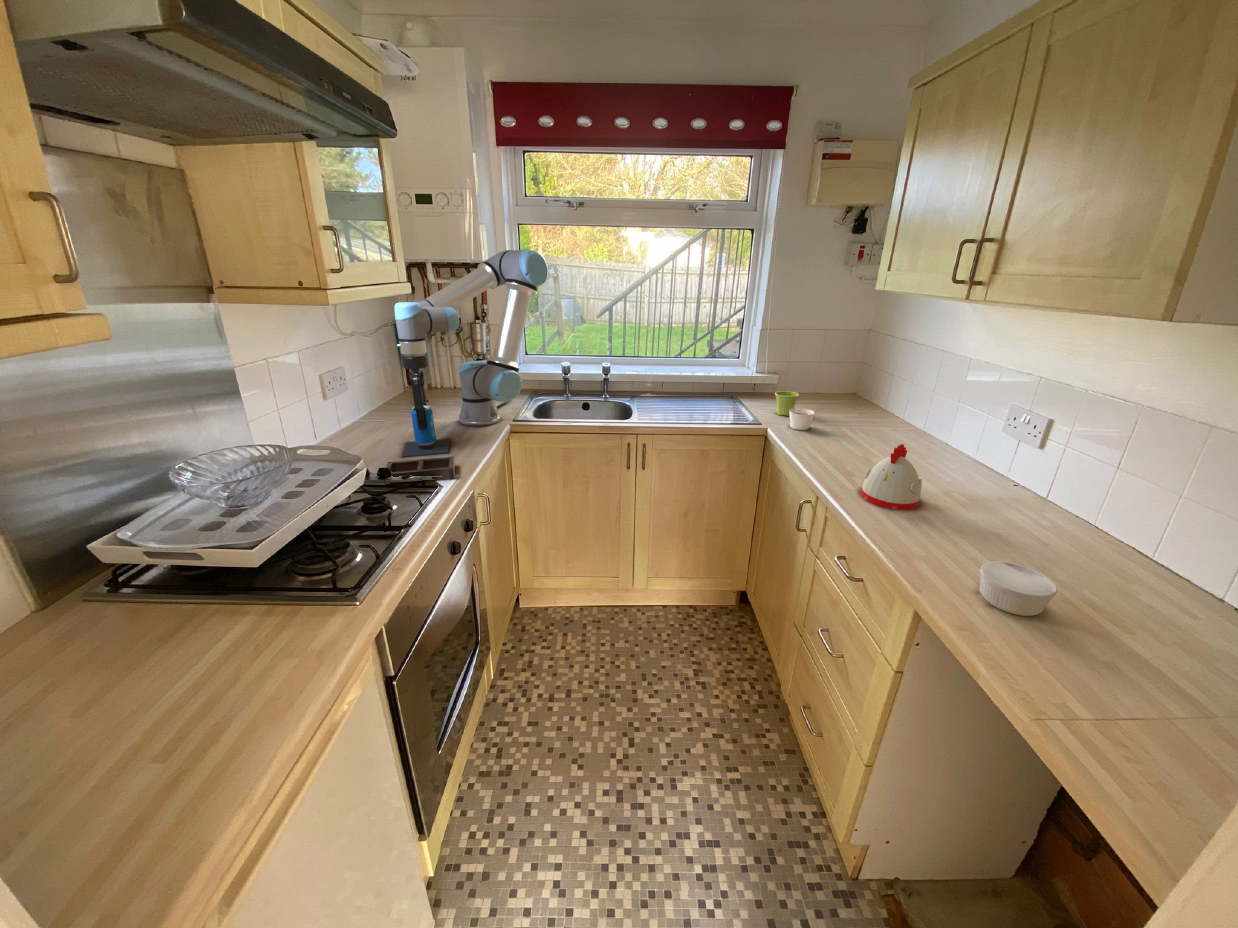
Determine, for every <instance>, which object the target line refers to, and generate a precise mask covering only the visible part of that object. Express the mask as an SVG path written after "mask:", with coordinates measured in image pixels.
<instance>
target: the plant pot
mask: <svg viewBox="0 0 1238 928" xmlns="http://www.w3.org/2000/svg"><path fill="white" fill-rule="evenodd" d="M774 395H775V399H776V414H777V415H779V416H786V417H788V416H789V417H790V415H789V410H790V409H794V408H795V407H796V406H795V405H796V403H797V399H798V397H799V396H800V394H799V393H798V392H795V391H787V390H781V391H776V392H775V393H774Z"/></svg>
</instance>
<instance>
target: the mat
mask: <svg viewBox="0 0 1238 928" xmlns="http://www.w3.org/2000/svg"><path fill="white" fill-rule="evenodd" d="M449 451H450V438H441V439H436V441H435V442H434V443H433V444H430V445H419V444H418V443H416V442H415V440H414V441H406V443H405V445H404V448H403V451H402V454H401V457H402V458H409V457H410V458H411V457H422V456H423V457H424V456H433V455H444V454H445V455H447V454H449Z"/></svg>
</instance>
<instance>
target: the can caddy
mask: <svg viewBox="0 0 1238 928" xmlns="http://www.w3.org/2000/svg"><path fill="white" fill-rule="evenodd" d="M386 468H389V470H391V471H392V472H391V474H392V476H393V477H399V476H403V475H412V476H442V477H432V479H436V480H435V481H443V480H453V479H455V478H456V477H455V476H456V475H455V474H456V463H455V456H445V457H442V456H441V457H430V458H420V459H408V460H397V461H388V462H387V463H386V466H385V469H386Z"/></svg>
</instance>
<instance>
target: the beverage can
mask: <svg viewBox="0 0 1238 928" xmlns="http://www.w3.org/2000/svg"><path fill="white" fill-rule="evenodd" d="M414 407H415V406H413V407H411V411H410V415H411V423H412V429H413V435H414V441H415V442H416V443H418V444H419V445H430V444H433V443H434V442H435V441H436V440H437V437H436V435H437V434H436V428H435V421H434V412H433V409H432V408H431V406H430V405H427V406H426V405H424V408H425V413H426V420H427V427H428V429H421V430H419V429H418V422H417V415H416V410H413V408H414Z"/></svg>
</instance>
